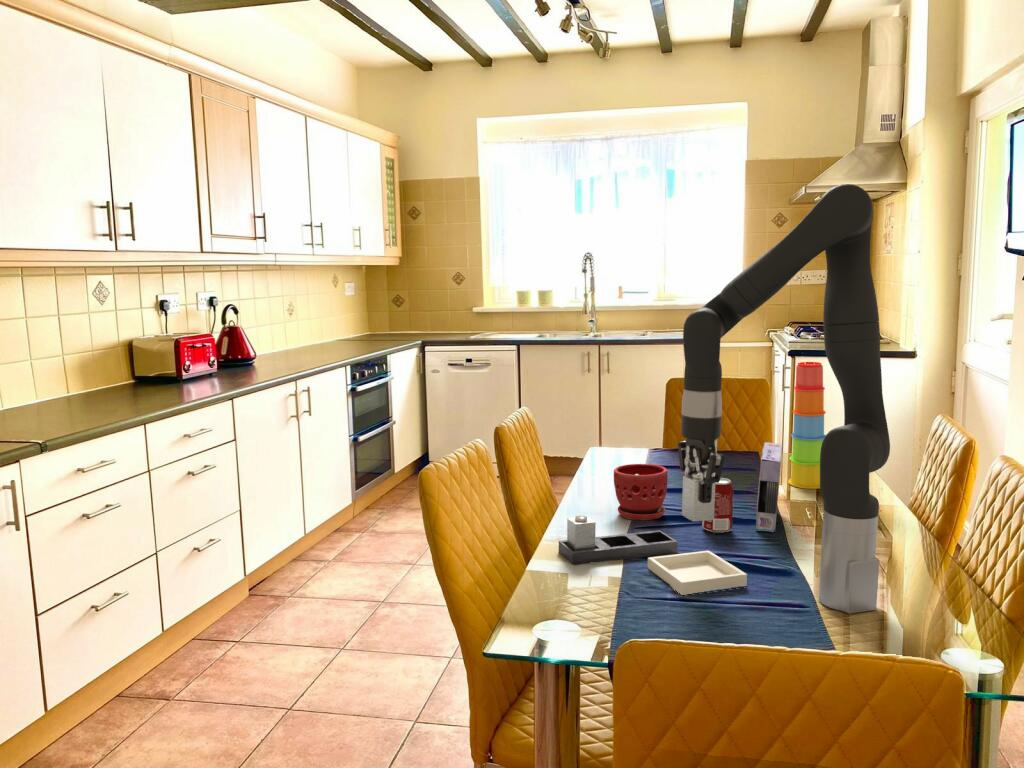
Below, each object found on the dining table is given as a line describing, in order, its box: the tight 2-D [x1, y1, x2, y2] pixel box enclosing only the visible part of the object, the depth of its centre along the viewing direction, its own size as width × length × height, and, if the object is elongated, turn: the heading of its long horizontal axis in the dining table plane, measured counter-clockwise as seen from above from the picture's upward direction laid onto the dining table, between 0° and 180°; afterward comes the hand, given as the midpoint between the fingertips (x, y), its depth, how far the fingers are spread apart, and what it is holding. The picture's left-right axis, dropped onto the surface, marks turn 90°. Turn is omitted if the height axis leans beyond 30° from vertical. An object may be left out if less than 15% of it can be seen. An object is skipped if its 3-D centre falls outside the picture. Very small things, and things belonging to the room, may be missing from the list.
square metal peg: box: [566, 514, 596, 551], centre depth 175 cm, size 4×4×9 cm
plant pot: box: [613, 463, 668, 521], centre depth 205 cm, size 13×13×12 cm
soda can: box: [701, 477, 734, 534], centre depth 194 cm, size 7×7×12 cm
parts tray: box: [647, 550, 748, 596], centre depth 165 cm, size 14×14×3 cm
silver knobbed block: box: [681, 473, 715, 522], centre depth 163 cm, size 4×4×9 cm
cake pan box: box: [755, 441, 783, 531], centre depth 200 cm, size 19×5×18 cm, turn 161°
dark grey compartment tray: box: [558, 529, 678, 566], centre depth 178 cm, size 8×24×3 cm, turn 108°
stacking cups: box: [788, 361, 827, 490], centre depth 233 cm, size 10×10×35 cm
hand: (698, 498), depth 163 cm, fingers closed on silver knobbed block, 4 cm apart
